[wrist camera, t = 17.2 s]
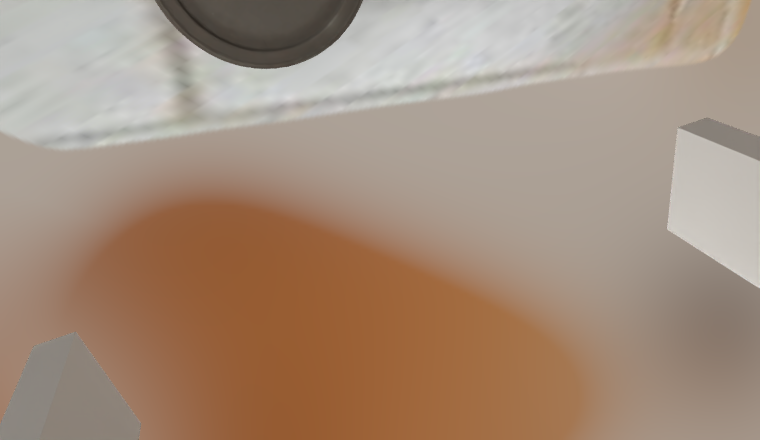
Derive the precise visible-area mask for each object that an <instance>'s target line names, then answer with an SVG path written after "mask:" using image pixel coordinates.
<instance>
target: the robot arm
mask: <svg viewBox="0 0 760 440" xmlns="http://www.w3.org/2000/svg"><path fill="white" fill-rule="evenodd" d="M667 229H668V230H669V231H671V232H672V233H674V234H675V235H677V236H679V237H680V238H682V239H683V240H685V241H686V242H688V243H689V244H691V245H693V246H694V247H696V248H697V249H699V250H700V251H702V252H703V253H705V254H707V255H708V256H710V257H711V258H713V259H714V260H716V261H717V262H719V263H721V264H722V265H724V266H725V267H727V268H729V269H730V270H732V271H733V272H735V273H736V274H738V275H739V276H741V277H742V278H744V279H746V280H747V281H749V282H750V283H752V284H754V285H755V286H757V287H758V288H760V137H759V136H756V135H753V134H751V133H748V132H745V131H743V130H740V129H737V128H734V127H732V126H729V125H726V124H723V123H721V122H718V121H715V120H713V119H710V118H704V119H702V120H699V121H696V122H693V123H690V124H687V125H684V126H681V127H678V130H677V140H676V149H675V160H674V168H673V178H672V187H671V197H670V206H669V216H668V226H667ZM140 427H141V423H140V421H139V420H138V419H137V417H136V415H135V414H134V413H133V411H132V410H131V408H130V407H129V406H128V404H127V403H126V402H125V400H124V399H123V397H122V396H121V395H120V393H119V392H118V390H117V389H116V387H115V386H114V385H113V383H112V382H111V381H110V379H109V378H108V376H107V375H106V373H105V372H104V371H103V369H102V368H101V366H100V365H99V364H98V362H97V361H96V359H95V358H94V357H93V355H92V354H91V353H90V351H89V350H88V348H87V347H86V345H85V344H84V343H83V341H82V340H81V338H80V337H79V336H78V334H77V333H76V332H74V333H70V334H68V335H65V336H62V337H59V338H56V339H53V340H50V341H47V342H44V343H41V344H38V345H35V346H34V347H33V349H32V351H31V354H30V356H29V358H28V361H27V363H26V365H25V368H24V370H23V372H22V375H21V377H20V379H19V382H18V384H17V387H16V389H15V391H14V393H13V396H12V398H11V400H10V403H9V405H8V408H7V410H6V412H5V414H4V417H3V419H2V421H1V424H0V440H139V434H140Z"/></svg>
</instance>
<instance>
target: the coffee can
mask: <svg viewBox="0 0 760 440" xmlns="http://www.w3.org/2000/svg"><path fill="white" fill-rule="evenodd" d="M155 1H156V3H157V4H158V6H159V7H160V9H161V10H162V12H163V13H164V14H165V16H166V17H167V19H168V20H169V21H170V22H171V23H172V24H173V25H174V26H175V27H176V28H177V30H178V31H179V32H181V33H182V34H183V35H184V36H185V37H186V38H187V39H189V40H190V41H191V42H192V43H194V44H195V45H196V46H198V47H199V48H201V49H202V50H204V51H206V52H207V53H209V54H211V55H212V56H215V57H217V58H219V59H221V60H223V61H226V62H229V63H232V64H235V65H239V66H243V67H251V68H261V69H270V68H281V67H288V66H292V65H295V64H298V63H301V62H304V61H306V60H308V59H311V58H313V57H314V56H316V55H318V54H320V53H321V52H323V51H324V50H325V49H327V48H328V47H329V46H331V45H332V44H333V43H334V42H335V41H336V40H338V39H339V38H340V36H341V35H342V34H343V33H344V32H345V30H346V29H347V28H348V27H349V25H350V24H351V22H352V21H353V19H354V17H355V16H356V14H357V12H358V10H359V8H360V6H361V4H362V1H363V0H155Z"/></svg>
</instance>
